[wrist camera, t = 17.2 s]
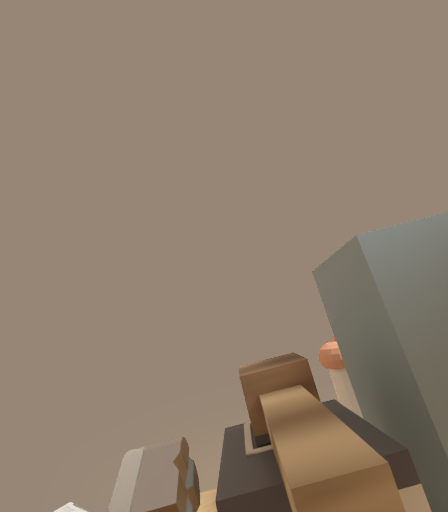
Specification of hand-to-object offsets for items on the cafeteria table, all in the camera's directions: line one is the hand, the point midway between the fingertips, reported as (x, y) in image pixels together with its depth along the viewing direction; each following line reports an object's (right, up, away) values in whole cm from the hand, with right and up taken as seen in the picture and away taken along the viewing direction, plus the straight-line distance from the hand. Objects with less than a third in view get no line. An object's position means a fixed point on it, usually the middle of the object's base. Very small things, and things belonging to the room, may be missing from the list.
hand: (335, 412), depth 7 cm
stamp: (+2, -7, +8) cm, 11 cm away
